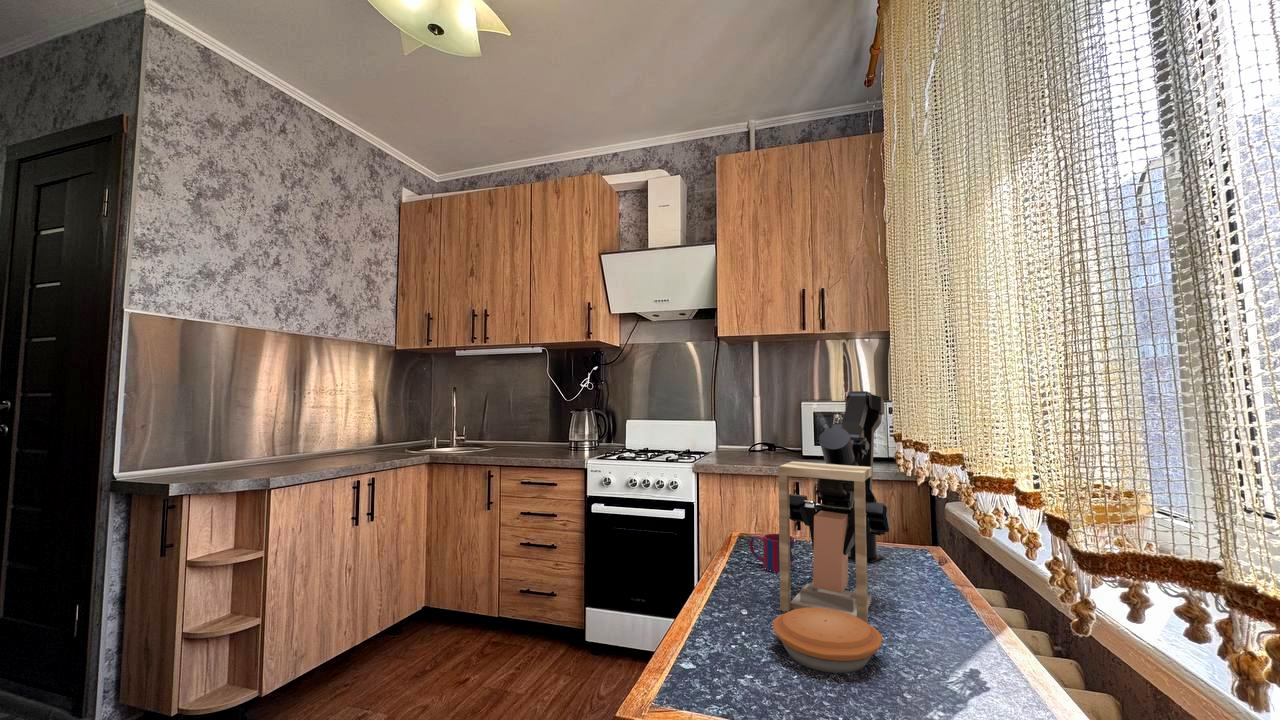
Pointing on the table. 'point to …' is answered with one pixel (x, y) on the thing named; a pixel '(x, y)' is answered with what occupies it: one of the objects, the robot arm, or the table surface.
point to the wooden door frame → (859, 598)
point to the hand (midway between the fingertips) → (829, 551)
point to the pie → (827, 639)
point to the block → (830, 551)
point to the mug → (773, 552)
